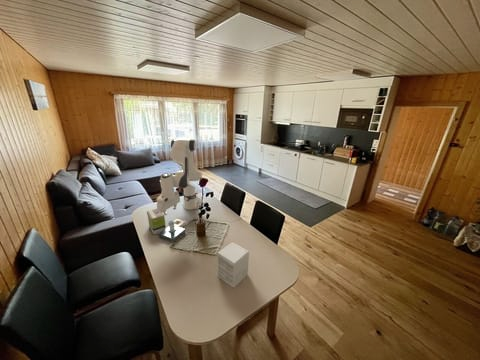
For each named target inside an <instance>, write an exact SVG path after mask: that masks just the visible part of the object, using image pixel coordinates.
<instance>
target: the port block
mask: <svg viewBox="0 0 480 360" xmlns="http://www.w3.org/2000/svg"><path fill="white" fill-rule="evenodd" d="M174 229H175V232H174V233H173V234H171V233H170V228H169V226H168V227H166V229H165V230H163V231H162V232H160V233H158V238H159V239H160V240H163V241H167V242H169V243H171V244H174V243H176V242H177V241H178V240H179V239H180V238H181V237H184V235H185V234H186V228H183V227H182V228H181V227H177V226H174Z"/></svg>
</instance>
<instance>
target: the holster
mask: <svg viewBox="0 0 480 360" xmlns="http://www.w3.org/2000/svg"><path fill="white" fill-rule="evenodd" d="M173 221H174V226H177V227H181V228H183V227H184V226H186V225H187V221H186V220H183V219H179V218H176V219H174V220H173Z"/></svg>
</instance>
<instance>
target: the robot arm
mask: <svg viewBox="0 0 480 360" xmlns="http://www.w3.org/2000/svg"><path fill="white" fill-rule="evenodd" d="M196 142H197V141H196V140H195V139H193V138H173V139H172V140H171V141H170V148H171V149H170V158H171V160H172V161H173V162H175V163H178V164H179V165H182V170H176V171H175V174H172V173H171V172H164V173H162V174H161V175H160V179H159V180H160V181H159V182H160V187H161V193H160V194H159V195H158V197H157V198H156V209H157V210H158V211H159V212H162V213H163V215H164V216H167V215H168V212H167V210H168V209H170V208H172V210H174V211H175V210H177V204H179V203H180V202H181V198H180V196H181V195H180V194H179V191H178V190H177V191H175V188H180V189H183V202H182V206H183V209H185V210H190V211H191V210H195V209H196V210H197V208H198V209H199V208H200V207H201V206H202V205H201V201H202V200H201V197H200V196H198V194H199V192H196V186H195V184H193V183H191V182H198V181H201V180H200V178H201V179H202V178H203V173H202V172H201V170H199V169H198V168H197V167H196V165H195V161H194V151H195V150H196V149H197V143H196ZM200 205H201V206H200ZM199 206H200V207H199Z"/></svg>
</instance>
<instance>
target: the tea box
mask: <svg viewBox="0 0 480 360" xmlns="http://www.w3.org/2000/svg"><path fill="white" fill-rule="evenodd" d="M146 215H147V221H148V226H149V229H150V230H151V232H152V234H153V235H157V234H159V233H160V232H162V231H163V230H165V229H166V228H167V227H166V220H165V219H166V218H165V215H164V213H163V212H159V211H158V210H157V208H155V209H151V210H147V211H146Z"/></svg>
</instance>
